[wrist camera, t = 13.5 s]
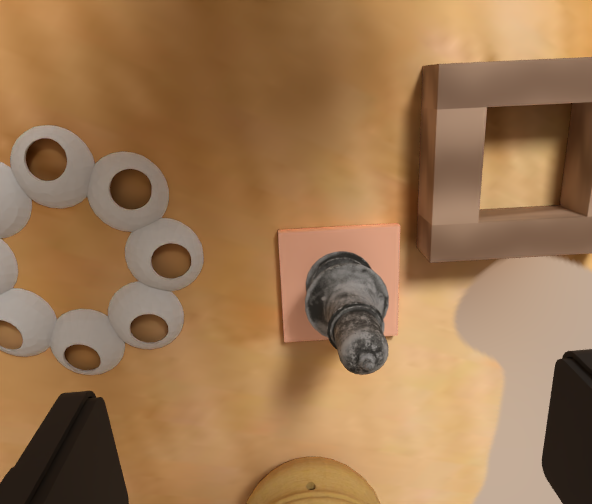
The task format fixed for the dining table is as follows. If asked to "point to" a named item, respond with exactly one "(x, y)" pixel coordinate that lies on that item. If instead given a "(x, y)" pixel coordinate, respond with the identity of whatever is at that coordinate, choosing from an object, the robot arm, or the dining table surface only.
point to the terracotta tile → (324, 240)
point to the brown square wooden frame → (469, 161)
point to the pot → (313, 484)
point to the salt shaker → (349, 309)
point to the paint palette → (140, 222)
